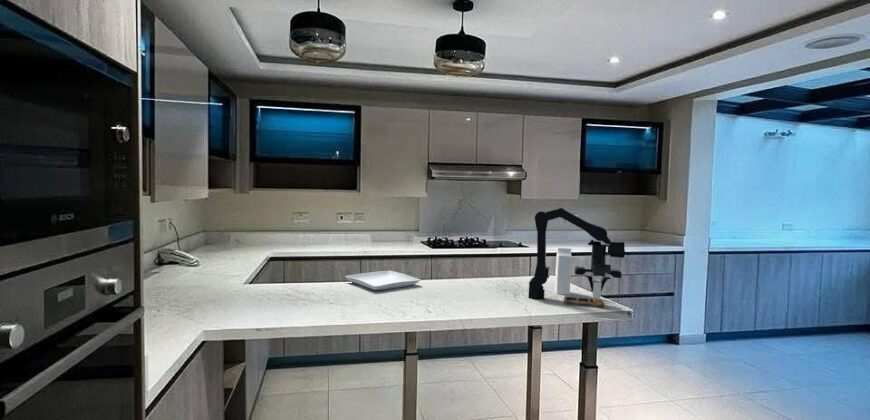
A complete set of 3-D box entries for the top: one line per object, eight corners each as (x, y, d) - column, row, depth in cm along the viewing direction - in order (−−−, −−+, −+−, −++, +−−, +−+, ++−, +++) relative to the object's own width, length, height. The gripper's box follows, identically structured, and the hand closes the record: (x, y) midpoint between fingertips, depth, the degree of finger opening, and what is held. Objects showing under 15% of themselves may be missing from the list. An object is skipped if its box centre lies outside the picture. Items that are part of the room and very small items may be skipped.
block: (593, 298, 204) (594, 281, 204) (591, 294, 210) (592, 279, 210) (600, 298, 203) (601, 282, 203) (598, 295, 209) (599, 279, 209)
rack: (564, 306, 205) (565, 297, 204) (563, 300, 215) (564, 291, 215) (604, 310, 201) (605, 300, 201) (601, 303, 212) (602, 294, 211)
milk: (554, 292, 230) (556, 247, 228) (567, 293, 229) (569, 247, 228) (556, 295, 224) (558, 248, 222) (569, 296, 223) (572, 249, 222)
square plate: (389, 276, 254) (389, 269, 253) (421, 286, 233) (421, 279, 233) (344, 282, 236) (344, 274, 236) (374, 293, 215) (374, 285, 215)
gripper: (577, 257, 200) (575, 294, 201) (624, 260, 196) (622, 298, 197) (575, 253, 211) (573, 288, 212) (620, 256, 207) (618, 292, 208)
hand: (596, 291), depth 207 cm, fingers closed on block, 3 cm apart
